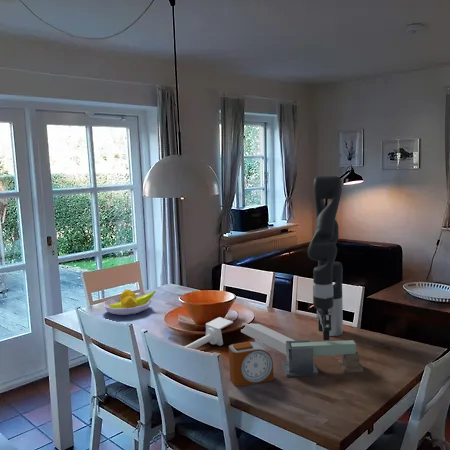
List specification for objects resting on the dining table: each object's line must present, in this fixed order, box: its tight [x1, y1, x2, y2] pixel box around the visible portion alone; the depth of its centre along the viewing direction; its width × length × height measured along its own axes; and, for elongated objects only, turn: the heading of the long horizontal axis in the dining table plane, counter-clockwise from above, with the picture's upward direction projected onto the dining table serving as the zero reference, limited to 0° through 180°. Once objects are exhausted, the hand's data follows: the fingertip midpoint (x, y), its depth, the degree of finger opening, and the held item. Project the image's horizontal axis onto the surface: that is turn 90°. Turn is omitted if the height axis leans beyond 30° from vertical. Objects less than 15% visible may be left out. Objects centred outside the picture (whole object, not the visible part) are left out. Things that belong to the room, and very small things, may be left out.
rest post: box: [338, 350, 364, 374], centre depth 178 cm, size 9×7×6 cm
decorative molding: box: [240, 322, 296, 356], centre depth 208 cm, size 34×5×10 cm
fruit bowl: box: [103, 289, 156, 316], centre depth 258 cm, size 28×27×11 cm
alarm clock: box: [228, 341, 275, 387], centre depth 171 cm, size 15×8×14 cm, turn 106°
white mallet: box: [184, 316, 234, 350], centre depth 202 cm, size 9×9×32 cm
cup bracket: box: [281, 339, 319, 378], centre depth 178 cm, size 11×12×10 cm
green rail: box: [291, 339, 357, 357], centre depth 177 cm, size 4×24×4 cm, turn 90°
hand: (323, 335), depth 177 cm, fingers open, 8 cm apart
